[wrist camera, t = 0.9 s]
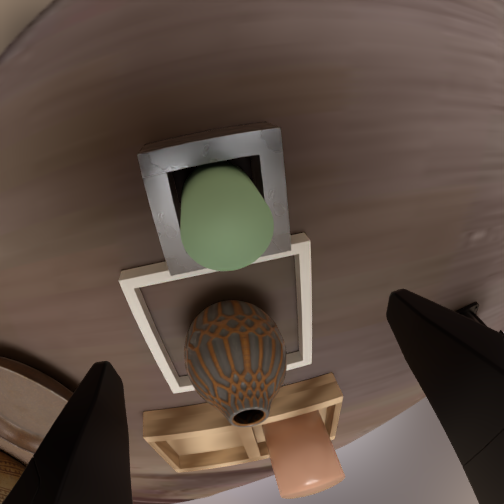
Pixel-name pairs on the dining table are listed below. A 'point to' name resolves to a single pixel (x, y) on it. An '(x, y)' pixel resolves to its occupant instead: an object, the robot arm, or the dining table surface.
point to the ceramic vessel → (8, 474)
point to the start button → (224, 217)
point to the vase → (236, 360)
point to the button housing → (208, 151)
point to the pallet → (234, 427)
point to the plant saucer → (28, 404)
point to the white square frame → (160, 272)
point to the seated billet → (302, 455)
